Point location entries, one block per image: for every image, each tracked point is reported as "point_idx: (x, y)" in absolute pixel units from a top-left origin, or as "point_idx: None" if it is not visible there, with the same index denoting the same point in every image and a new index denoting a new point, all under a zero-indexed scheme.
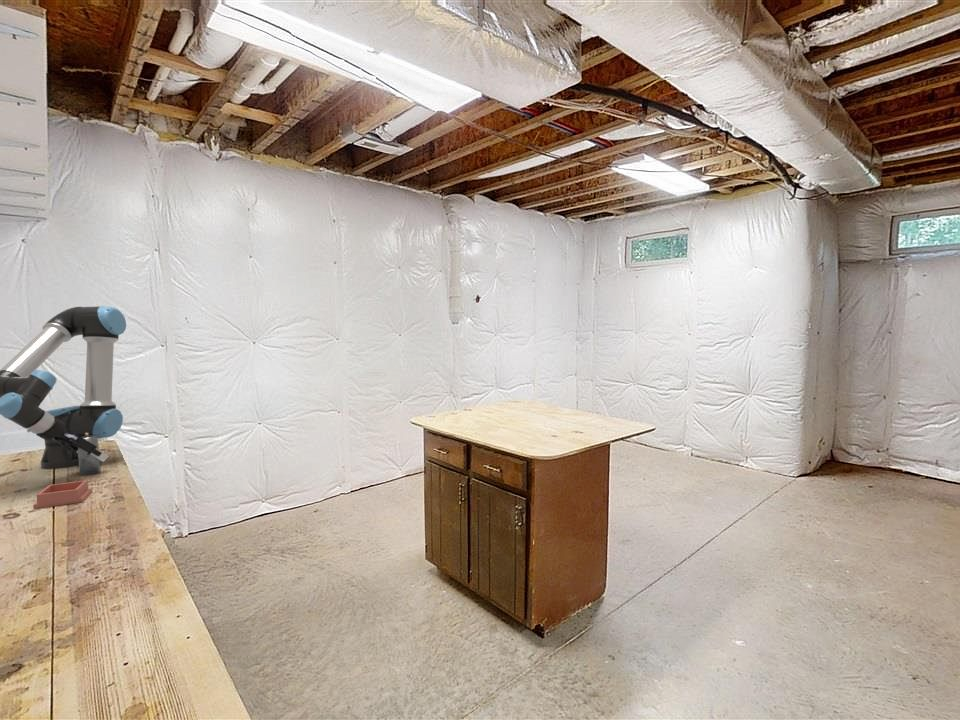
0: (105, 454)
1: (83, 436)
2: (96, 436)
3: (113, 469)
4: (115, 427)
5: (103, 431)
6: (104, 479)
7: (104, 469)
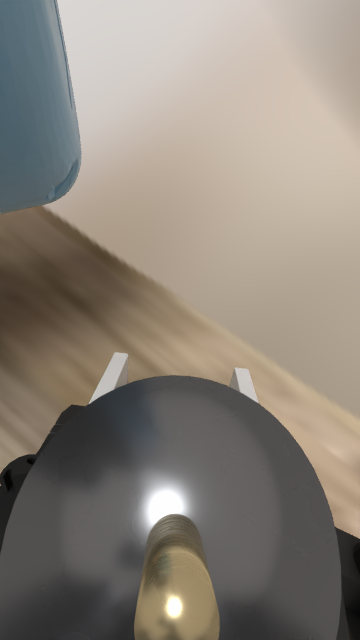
0: (253, 388)
1: (45, 515)
2: (298, 447)
3: (222, 358)
4: (61, 34)
5: (66, 167)
6: (350, 509)
7: (177, 366)
